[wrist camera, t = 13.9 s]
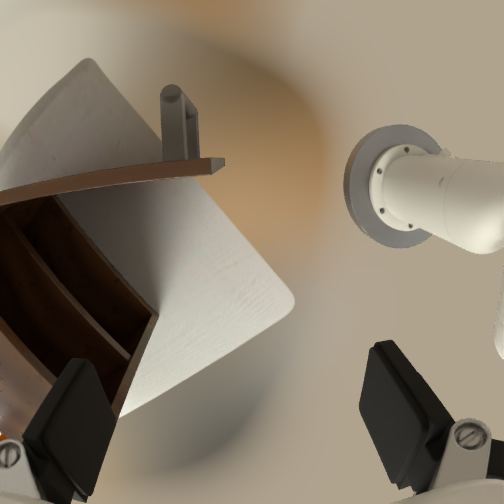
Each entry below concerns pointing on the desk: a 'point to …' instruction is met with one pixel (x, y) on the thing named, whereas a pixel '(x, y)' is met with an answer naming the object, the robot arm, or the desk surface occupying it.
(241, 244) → the desk surface
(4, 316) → the cupboard
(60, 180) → the door
